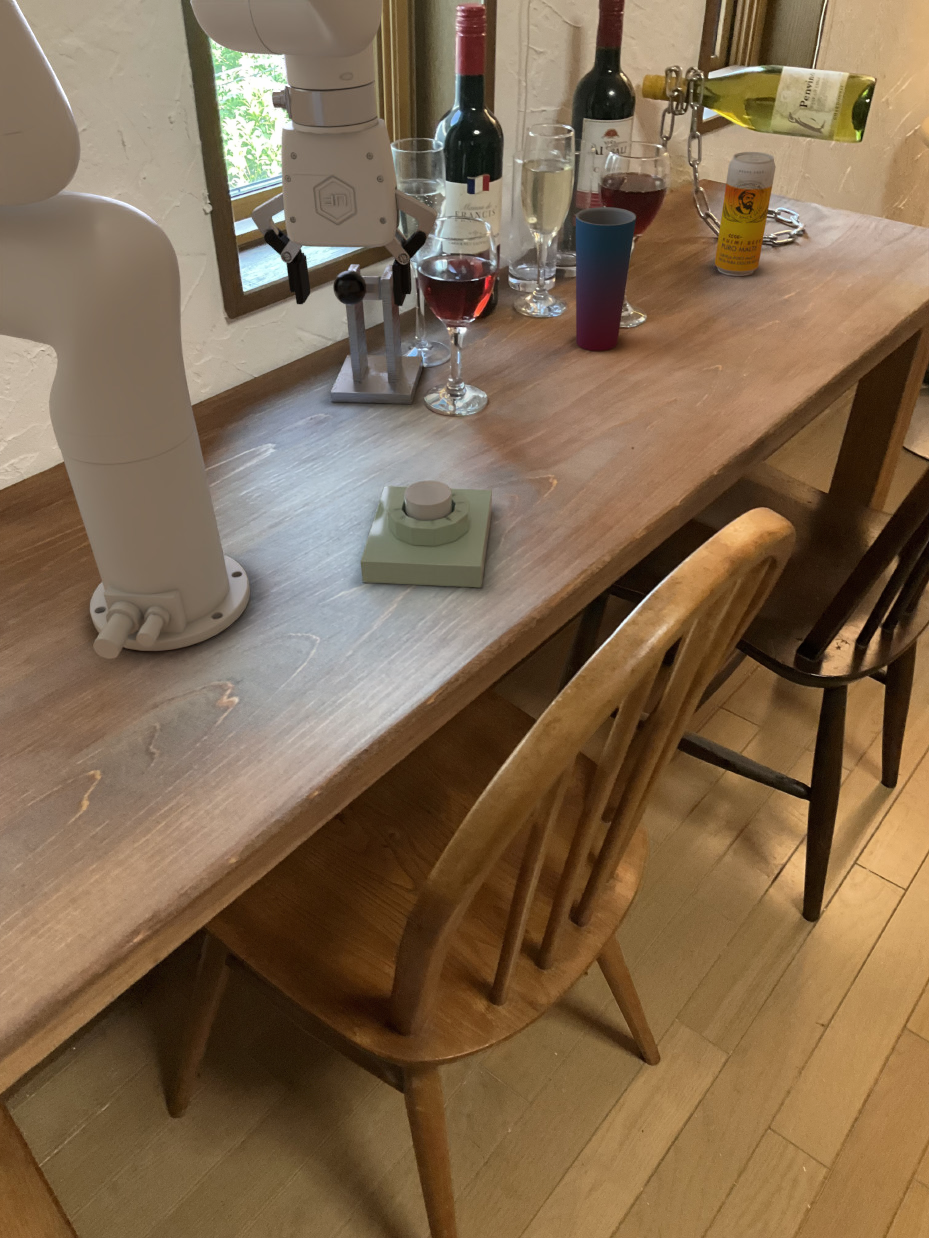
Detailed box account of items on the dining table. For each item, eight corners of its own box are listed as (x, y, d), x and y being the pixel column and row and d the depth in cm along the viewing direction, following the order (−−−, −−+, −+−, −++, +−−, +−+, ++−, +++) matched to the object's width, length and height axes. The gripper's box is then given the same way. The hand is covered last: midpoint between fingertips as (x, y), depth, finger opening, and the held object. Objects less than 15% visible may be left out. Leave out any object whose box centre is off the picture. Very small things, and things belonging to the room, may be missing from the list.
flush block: (481, 588, 80) (480, 548, 77) (362, 582, 80) (358, 543, 78) (492, 510, 89) (492, 472, 86) (385, 506, 90) (382, 468, 87)
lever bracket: (411, 404, 106) (405, 289, 98) (331, 401, 107) (318, 287, 99) (423, 366, 114) (418, 256, 106) (348, 364, 114) (337, 255, 106)
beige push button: (449, 523, 81) (448, 505, 80) (402, 521, 81) (401, 504, 80) (454, 498, 84) (453, 481, 83) (409, 496, 84) (407, 479, 83)
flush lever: (363, 305, 92) (362, 270, 91) (330, 305, 92) (329, 269, 91) (388, 304, 105) (388, 272, 104) (359, 303, 105) (358, 272, 104)
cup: (627, 354, 115) (639, 224, 106) (570, 354, 116) (577, 225, 106) (621, 331, 121) (632, 206, 111) (567, 332, 121) (573, 207, 111)
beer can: (714, 276, 135) (731, 162, 126) (713, 262, 140) (729, 150, 131) (758, 278, 135) (779, 163, 125) (755, 263, 139) (775, 151, 130)
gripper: (223, 115, 81) (255, 313, 92) (426, 115, 79) (435, 317, 90) (247, 96, 87) (275, 285, 98) (437, 96, 85) (444, 287, 96)
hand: (352, 300), depth 94 cm, fingers open, 9 cm apart
